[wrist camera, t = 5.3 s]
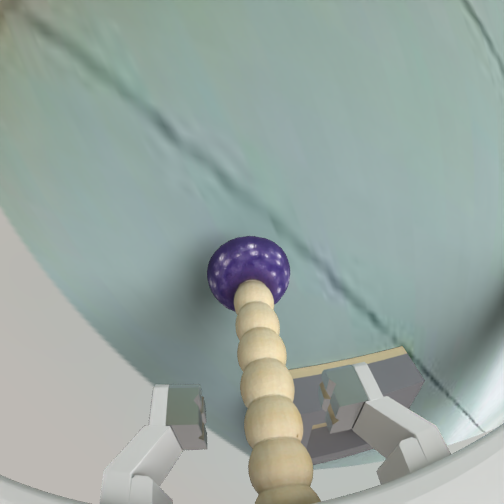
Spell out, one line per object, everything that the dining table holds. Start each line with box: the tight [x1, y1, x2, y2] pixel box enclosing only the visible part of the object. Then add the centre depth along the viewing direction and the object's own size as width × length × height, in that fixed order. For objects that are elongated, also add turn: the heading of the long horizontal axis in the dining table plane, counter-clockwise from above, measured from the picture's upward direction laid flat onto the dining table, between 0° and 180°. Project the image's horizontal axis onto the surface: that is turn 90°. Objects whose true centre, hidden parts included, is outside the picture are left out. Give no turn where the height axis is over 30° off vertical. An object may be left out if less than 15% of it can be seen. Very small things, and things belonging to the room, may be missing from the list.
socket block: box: [289, 346, 425, 465], centre depth 25 cm, size 12×12×4 cm
